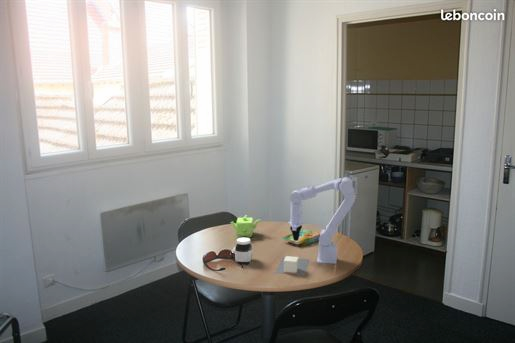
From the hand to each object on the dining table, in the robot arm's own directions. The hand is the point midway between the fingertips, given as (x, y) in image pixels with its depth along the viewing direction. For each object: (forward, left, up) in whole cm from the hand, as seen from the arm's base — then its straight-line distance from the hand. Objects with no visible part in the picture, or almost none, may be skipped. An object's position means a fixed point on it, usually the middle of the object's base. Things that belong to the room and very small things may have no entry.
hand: (296, 240), depth 224 cm
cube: (0, +17, -3) cm, 17 cm away
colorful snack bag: (0, -26, -10) cm, 28 cm away
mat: (0, +11, -10) cm, 15 cm away
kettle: (+34, -30, -10) cm, 46 cm away
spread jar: (+27, +8, -10) cm, 30 cm away
